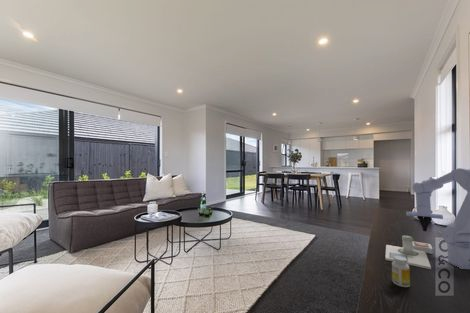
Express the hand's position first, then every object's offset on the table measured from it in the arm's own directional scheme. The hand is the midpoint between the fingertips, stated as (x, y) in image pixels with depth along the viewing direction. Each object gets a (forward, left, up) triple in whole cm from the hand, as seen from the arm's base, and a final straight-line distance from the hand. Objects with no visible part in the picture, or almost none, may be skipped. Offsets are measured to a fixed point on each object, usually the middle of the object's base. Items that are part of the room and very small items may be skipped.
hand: (424, 230), depth 113 cm
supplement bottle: (-36, +34, -10) cm, 51 cm away
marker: (-8, +14, -8) cm, 18 cm away
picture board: (-11, +16, -9) cm, 22 cm away
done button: (-1, +3, -8) cm, 9 cm away
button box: (-1, +3, -9) cm, 10 cm away
